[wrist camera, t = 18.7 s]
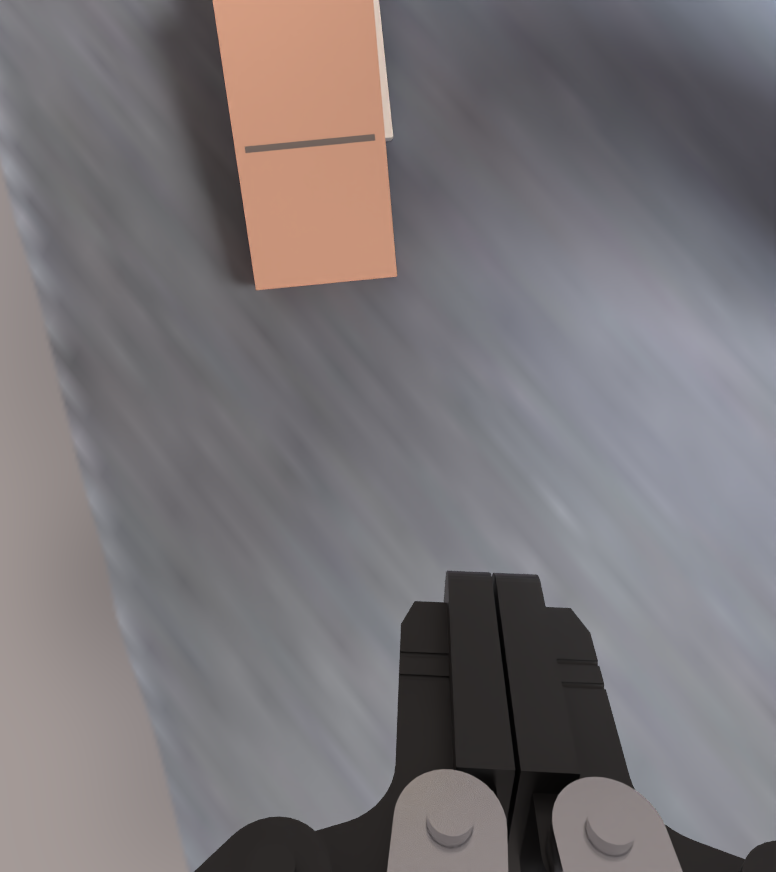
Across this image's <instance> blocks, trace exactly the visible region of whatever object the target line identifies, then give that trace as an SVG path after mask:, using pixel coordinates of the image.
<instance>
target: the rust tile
mask: <svg viewBox="0 0 776 872" xmlns="http://www.w3.org/2000/svg"><path fill="white" fill-rule="evenodd" d="M213 6H214V13H215V19H216V26H217V33H218V39H219V46H220V53H221V60H222V66H223V73H224V80H225V86H226V93H227V100H228V106H229V113H230V120H231V126H232V133H233V140H234V146H235V153H236V160H237V166H238V173H239V180H240V186H241V193H242V200H243V206H244V213H245V220H246V226H247V233H248V240H249V246H250V253H251V260H252V266H253V273H254V280H255V286H256V290H264V289H274V288H285V287H295V286H305V285H315V284H326V283H336V282H346V281H356V280H367V279H377V278H387V277H397V269H396V258H395V246H394V235H393V223H392V211H391V200H390V188H389V177H388V165H387V154H386V142H385V130H384V119H383V107H382V96H381V84H380V73H379V61H378V49H377V38H376V26H375V15H374V3H373V0H213Z"/></svg>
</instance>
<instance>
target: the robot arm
mask: <svg viewBox="0 0 776 872" xmlns="http://www.w3.org/2000/svg"><path fill="white" fill-rule="evenodd" d="M194 872H776V841H771V842H766V843H763V844H761V845H758V846H757V847H755V848H754V849H753V850H752V851H751V852H750V853H749V854H748V856H747V857H746V859H743V858H740V857H737V856H734V855H732V854H729V853H726V852H724V851H721V850H718V849H715V848H713V847H710V846H707V845H705V844H702V843H699V842H697V841H694V840H692V839H689V838H687V837H685V836H682V835H681V834H679V833H677V832H676V831H674V830H672V829H671V828H669V827H668V826H667V825H665V824H664V822H663V820H662V818H661V817H660V815H659V814H658V812H657V811H656V809H655V808H654V807H653V806H652V804H651V803H650V802H649V801H648V800H647V799H646V798H645V797H643V796H642V795H641V794H640V793H639V792H637V791H636V790H635V789H634V787H633V785H632V782H631V779H630V776H629V773H628V769H627V765H626V762H625V758H624V754H623V751H622V747H621V744H620V740H619V736H618V733H617V729H616V725H615V722H614V718H613V714H612V711H611V707H610V703H609V700H608V696H607V693H606V689H604V682H603V678H602V674H601V671H600V667H599V666H598V660H597V656H596V653H595V649H594V645H593V642H592V638H591V634H590V632H589V631H588V630H587V628H586V627H585V626H584V624H583V623H582V622H581V621H580V619H579V618H578V617H577V616H576V614H575V613H574V612H573V611H572V609H571V608H554V607H545V602H544V597H543V592H542V588H541V583H540V579H539V577H538V575H532V574H508V573H493V574H492V577H491V573H489V572H465V571H447V572H446V580H445V593H444V603H443V602H420V601H415V602H414V603H413V605H412V607H411V608H410V610H409V612H408V613H407V615H406V617H405V618H404V620H403V622H402V623H401V639H400V665H399V691H398V717H397V743H396V766H395V773H394V777H393V780H392V783H391V785H390V787H389V789H388V791H387V792H386V794H385V795H384V797H383V798H382V799H381V800H380V801H379V803H378V804H377V805H376V806H375V807H373V808H372V809H371V810H369V811H368V812H367V813H365V814H363V815H362V816H360V817H358V818H356V819H353V820H350V821H348V822H345V823H341V824H338V825H334V826H331V827H328V828H324V829H321V830H317V831H314V830H313V829H312V828H310V827H309V826H308V825H306V824H304V823H302V822H300V821H299V820H295V819H292V818H287V817H269V818H265V819H260V820H257V821H255V822H253V823H250V824H248V825H247V826H245V827H243V828H242V829H240V830H239V831H238V832H236V833H235V834H234V835H233V836H232V837H230V838H229V839H228V840H227V841H226V842H225V843H224V844H223V845H222V846H221V847H220V848H219V849H218V850H217V851H216V852H215V853H213V854H212V855H211V856H210V857H209V858H208V859H207V860H206V861H205V862H204V863H203V864H202V865H201V866H200V867H199V868H198V869H196V870H195V871H194Z"/></svg>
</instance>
